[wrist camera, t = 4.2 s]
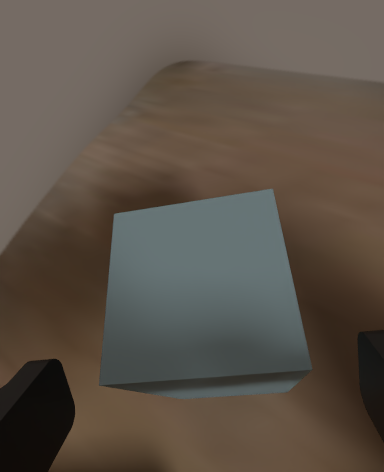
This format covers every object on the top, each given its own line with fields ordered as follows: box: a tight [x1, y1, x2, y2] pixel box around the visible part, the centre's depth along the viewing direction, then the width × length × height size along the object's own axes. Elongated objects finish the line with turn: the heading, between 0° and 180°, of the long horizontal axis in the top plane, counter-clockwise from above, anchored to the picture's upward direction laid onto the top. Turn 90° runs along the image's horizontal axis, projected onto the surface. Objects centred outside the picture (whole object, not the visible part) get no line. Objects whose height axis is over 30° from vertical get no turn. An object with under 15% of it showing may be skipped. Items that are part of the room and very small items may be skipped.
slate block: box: [99, 189, 312, 399], centre depth 12 cm, size 5×5×9 cm
